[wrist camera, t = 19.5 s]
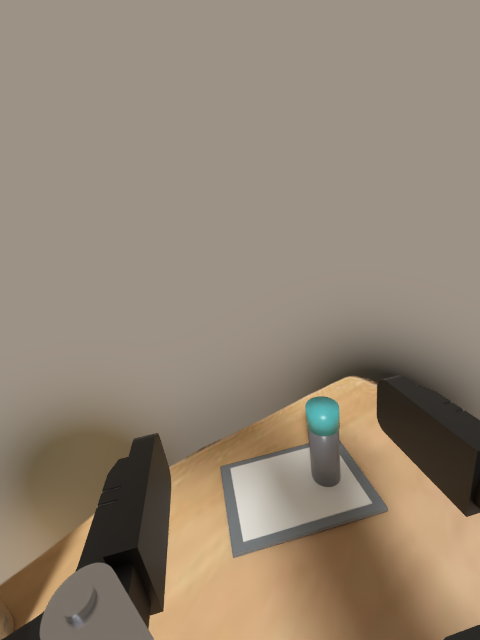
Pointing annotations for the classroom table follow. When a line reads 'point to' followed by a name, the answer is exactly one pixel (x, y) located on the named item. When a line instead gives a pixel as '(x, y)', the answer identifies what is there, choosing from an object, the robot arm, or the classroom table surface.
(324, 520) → the mat
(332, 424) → the marker
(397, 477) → the classroom table surface
